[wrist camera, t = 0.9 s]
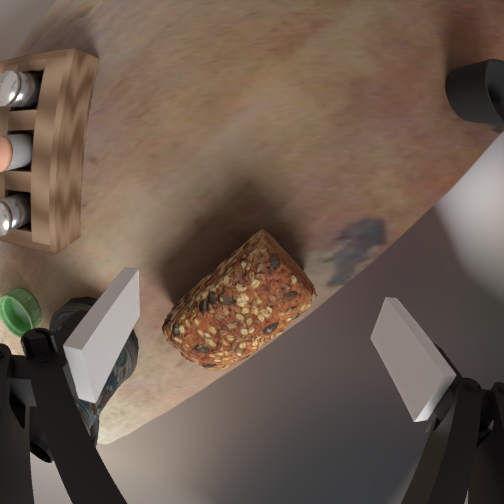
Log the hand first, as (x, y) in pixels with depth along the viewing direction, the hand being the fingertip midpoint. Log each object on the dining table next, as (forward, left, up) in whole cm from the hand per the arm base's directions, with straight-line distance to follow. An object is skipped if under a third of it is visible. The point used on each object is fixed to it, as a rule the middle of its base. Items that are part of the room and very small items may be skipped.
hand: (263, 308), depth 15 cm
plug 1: (-12, -31, -21) cm, 40 cm away
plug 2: (+4, -31, -21) cm, 38 cm away
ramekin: (+25, -38, -26) cm, 52 cm away
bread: (+13, 0, -26) cm, 29 cm away
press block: (-4, -31, -26) cm, 41 cm away
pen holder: (-24, +29, -26) cm, 46 cm away
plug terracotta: (-4, -31, -21) cm, 38 cm away
